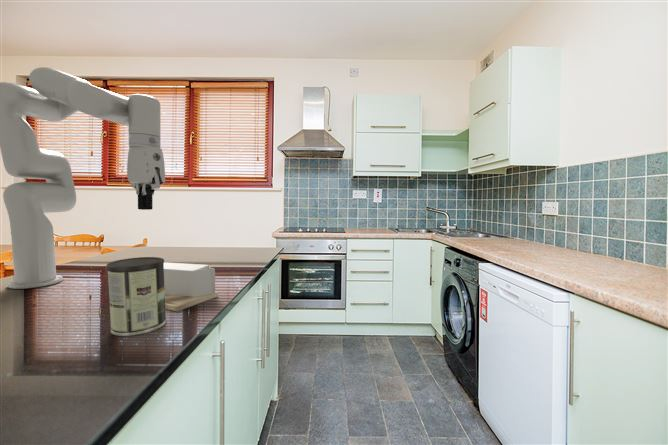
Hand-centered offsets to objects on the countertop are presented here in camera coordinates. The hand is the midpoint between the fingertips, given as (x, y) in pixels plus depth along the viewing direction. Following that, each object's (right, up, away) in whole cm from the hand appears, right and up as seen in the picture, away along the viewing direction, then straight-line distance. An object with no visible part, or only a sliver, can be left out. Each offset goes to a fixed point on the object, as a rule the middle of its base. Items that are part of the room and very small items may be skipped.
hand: (145, 209), depth 88 cm
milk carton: (+2, -19, +2) cm, 19 cm away
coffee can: (+11, -26, -20) cm, 35 cm away
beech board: (+7, -24, -1) cm, 25 cm away
